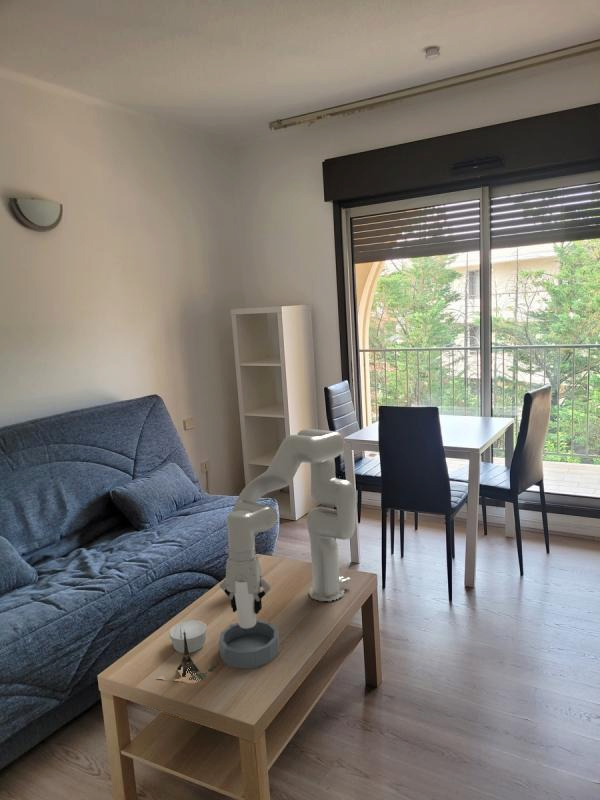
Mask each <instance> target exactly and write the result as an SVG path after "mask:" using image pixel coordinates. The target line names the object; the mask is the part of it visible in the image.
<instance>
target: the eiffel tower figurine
mask: <svg viewBox="0 0 600 800" xmlns="http://www.w3.org/2000/svg"><path fill="white" fill-rule="evenodd" d="M183 634H184V653H182V654H183V656H182V660H180V664H179V665H178V667H177V668H176V669H177V670H181V667H183V673H182V677H186V676H185V675H186V671H187V669H188V668H189V669H190V670H189V669H188V671H189V673H190V674H191V676H192V677H190V678H191V679H190V678H189V680H192V679H193V680H196V678H197V680H198V679H199V680H200V679H201V680H203V681H204V680H205V679H206V678H207V677H208V675H207V674H208V673H213V672H214V670H215V668H216V667H217V664H218V663H213V665H212V666H211V667H210V668H208V669H207V672H204V673H203V672H201V670H200V669H199V668H198V667H197V666H196V664H195V661H194V660H193V658H192V657H191V654H190V653H189V651H188V647H187V641H186V633H185V632H184V633H183ZM190 667H191V668H190ZM177 670H176V671H177ZM188 671H187V673H188ZM190 671H191V672H192V673H191V672H190ZM193 673H194V675H193ZM195 673H196V675H195ZM195 676H196V677H195ZM194 678H195V679H194ZM197 680H196V681H197ZM199 680H198V681H199Z"/></svg>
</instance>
